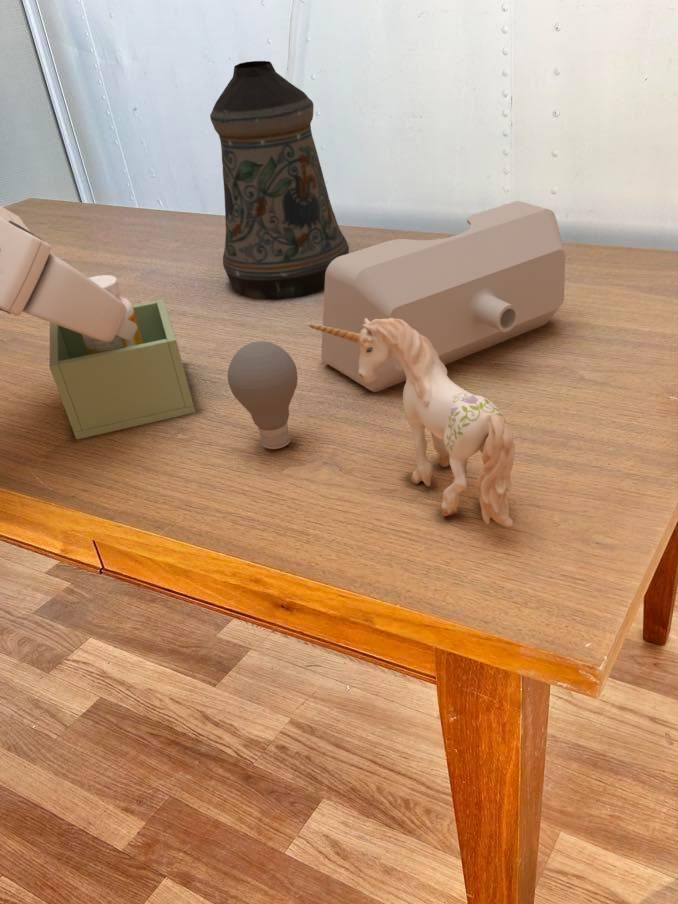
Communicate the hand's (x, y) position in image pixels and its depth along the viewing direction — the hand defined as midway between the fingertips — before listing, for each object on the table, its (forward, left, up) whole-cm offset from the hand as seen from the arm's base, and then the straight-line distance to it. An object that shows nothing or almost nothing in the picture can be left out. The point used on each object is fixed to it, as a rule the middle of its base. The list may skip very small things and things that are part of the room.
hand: (114, 323), depth 83 cm
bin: (-1, 0, -8) cm, 8 cm away
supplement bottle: (-1, 0, -6) cm, 6 cm away
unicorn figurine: (+20, -30, -8) cm, 37 cm away
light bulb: (+11, -16, -8) cm, 22 cm away
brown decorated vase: (+21, +28, -8) cm, 36 cm away
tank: (+33, -6, -8) cm, 35 cm away
